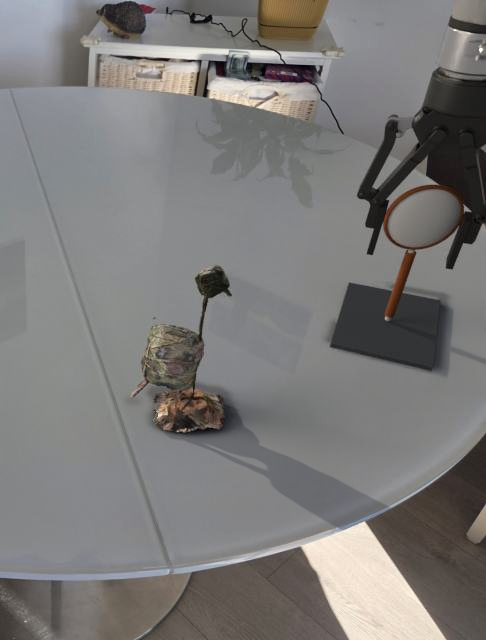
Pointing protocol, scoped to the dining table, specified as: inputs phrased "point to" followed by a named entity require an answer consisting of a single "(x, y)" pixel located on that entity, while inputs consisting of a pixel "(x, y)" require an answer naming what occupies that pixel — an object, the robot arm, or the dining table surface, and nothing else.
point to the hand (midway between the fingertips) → (409, 256)
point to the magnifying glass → (419, 227)
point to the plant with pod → (183, 367)
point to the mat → (388, 326)
